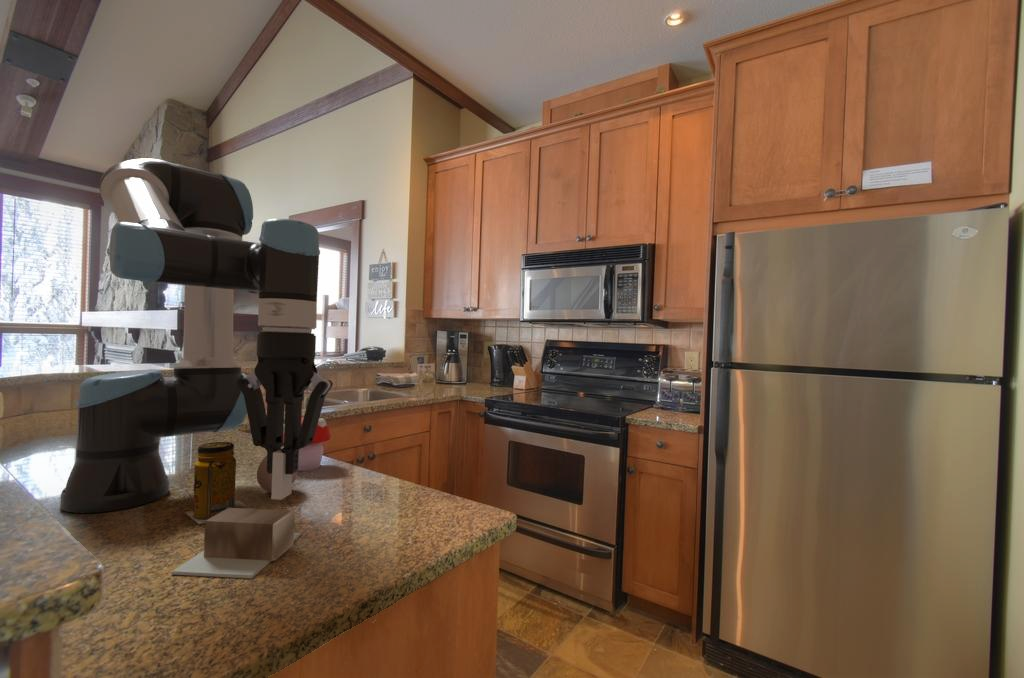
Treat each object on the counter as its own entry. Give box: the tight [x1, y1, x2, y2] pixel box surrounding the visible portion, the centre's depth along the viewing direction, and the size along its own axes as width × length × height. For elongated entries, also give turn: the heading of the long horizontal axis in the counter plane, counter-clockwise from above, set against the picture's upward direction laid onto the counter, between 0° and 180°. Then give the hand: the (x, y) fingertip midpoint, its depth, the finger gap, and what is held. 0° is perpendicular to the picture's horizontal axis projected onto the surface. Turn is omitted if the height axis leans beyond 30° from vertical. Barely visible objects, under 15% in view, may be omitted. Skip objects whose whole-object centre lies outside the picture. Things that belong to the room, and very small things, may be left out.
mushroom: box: [283, 416, 332, 472], centre depth 109 cm, size 11×11×12 cm
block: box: [203, 508, 296, 562], centre depth 66 cm, size 5×5×10 cm
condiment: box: [185, 441, 252, 525], centre depth 80 cm, size 7×8×12 cm
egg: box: [256, 454, 298, 493], centre depth 91 cm, size 7×7×8 cm
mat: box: [171, 532, 302, 579], centre depth 66 cm, size 10×13×1 cm
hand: (281, 495), depth 66 cm, fingers closed
